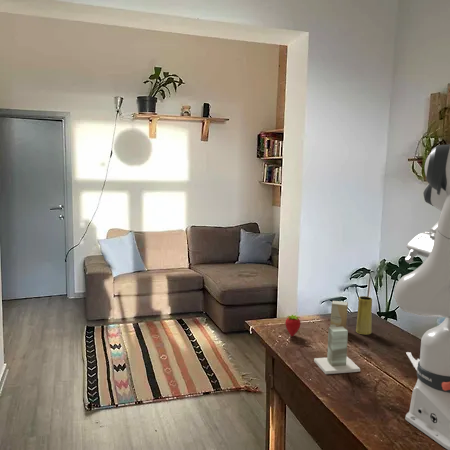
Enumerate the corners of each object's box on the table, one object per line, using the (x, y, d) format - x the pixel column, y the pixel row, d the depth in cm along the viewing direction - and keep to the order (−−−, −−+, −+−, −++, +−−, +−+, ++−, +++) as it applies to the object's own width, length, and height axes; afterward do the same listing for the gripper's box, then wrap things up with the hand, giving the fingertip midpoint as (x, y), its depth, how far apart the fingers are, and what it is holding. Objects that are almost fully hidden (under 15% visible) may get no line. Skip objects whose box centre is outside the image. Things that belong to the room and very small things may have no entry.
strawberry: (299, 333, 182) (300, 309, 181) (300, 340, 175) (301, 315, 173) (284, 332, 183) (285, 308, 181) (285, 339, 175) (285, 314, 174)
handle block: (346, 365, 151) (347, 330, 149) (331, 366, 150) (333, 331, 148) (341, 360, 155) (342, 326, 153) (327, 361, 154) (328, 327, 152)
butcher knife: (420, 355, 163) (420, 352, 163) (433, 374, 148) (433, 371, 148) (405, 354, 164) (406, 351, 164) (416, 373, 149) (416, 369, 149)
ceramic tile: (360, 371, 149) (360, 368, 148) (325, 374, 146) (325, 371, 146) (346, 358, 158) (346, 356, 158) (314, 361, 156) (314, 358, 156)
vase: (372, 335, 180) (374, 300, 179) (356, 334, 182) (357, 299, 180) (370, 330, 186) (372, 296, 184) (355, 328, 188) (356, 295, 186)
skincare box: (329, 332, 183) (330, 303, 182) (330, 329, 187) (331, 300, 186) (346, 334, 181) (347, 304, 180) (346, 330, 185) (348, 301, 184)
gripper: (419, 224, 160) (392, 252, 160) (459, 233, 140) (428, 264, 140) (430, 236, 162) (403, 264, 161) (470, 246, 142) (440, 278, 141)
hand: (415, 264), depth 150 cm, fingers open, 8 cm apart
